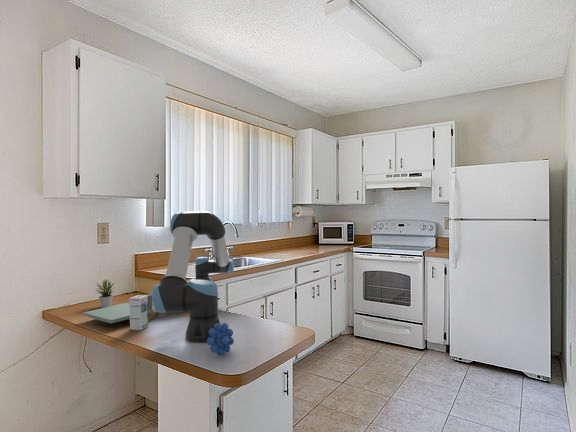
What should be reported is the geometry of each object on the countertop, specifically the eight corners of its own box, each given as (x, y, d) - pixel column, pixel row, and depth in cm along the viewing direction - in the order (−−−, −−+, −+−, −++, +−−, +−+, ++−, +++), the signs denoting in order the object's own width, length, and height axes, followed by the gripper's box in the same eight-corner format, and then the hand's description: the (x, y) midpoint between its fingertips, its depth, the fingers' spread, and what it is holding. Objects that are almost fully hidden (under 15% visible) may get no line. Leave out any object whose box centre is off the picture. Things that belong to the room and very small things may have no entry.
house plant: (88, 306, 208) (88, 277, 208) (114, 302, 217) (114, 275, 217) (93, 311, 197) (92, 281, 197) (120, 307, 205) (120, 278, 205)
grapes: (215, 363, 124) (214, 328, 124) (203, 358, 129) (203, 324, 129) (241, 353, 133) (240, 320, 133) (229, 349, 137) (228, 317, 137)
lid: (125, 305, 195) (125, 290, 195) (153, 312, 181) (153, 295, 181) (83, 315, 177) (82, 298, 177) (111, 323, 163) (110, 304, 163)
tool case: (148, 306, 206) (148, 301, 206) (176, 312, 192) (175, 306, 192) (111, 315, 188) (111, 309, 188) (138, 322, 174) (138, 316, 174)
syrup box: (141, 330, 162) (140, 297, 162) (129, 329, 164) (128, 297, 164) (148, 326, 168) (148, 295, 168) (137, 325, 169) (136, 294, 169)
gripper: (197, 294, 199) (160, 303, 179) (181, 292, 206) (144, 300, 187) (196, 281, 199) (159, 288, 179) (181, 279, 206) (144, 285, 187)
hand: (152, 294), depth 183 cm, fingers closed
